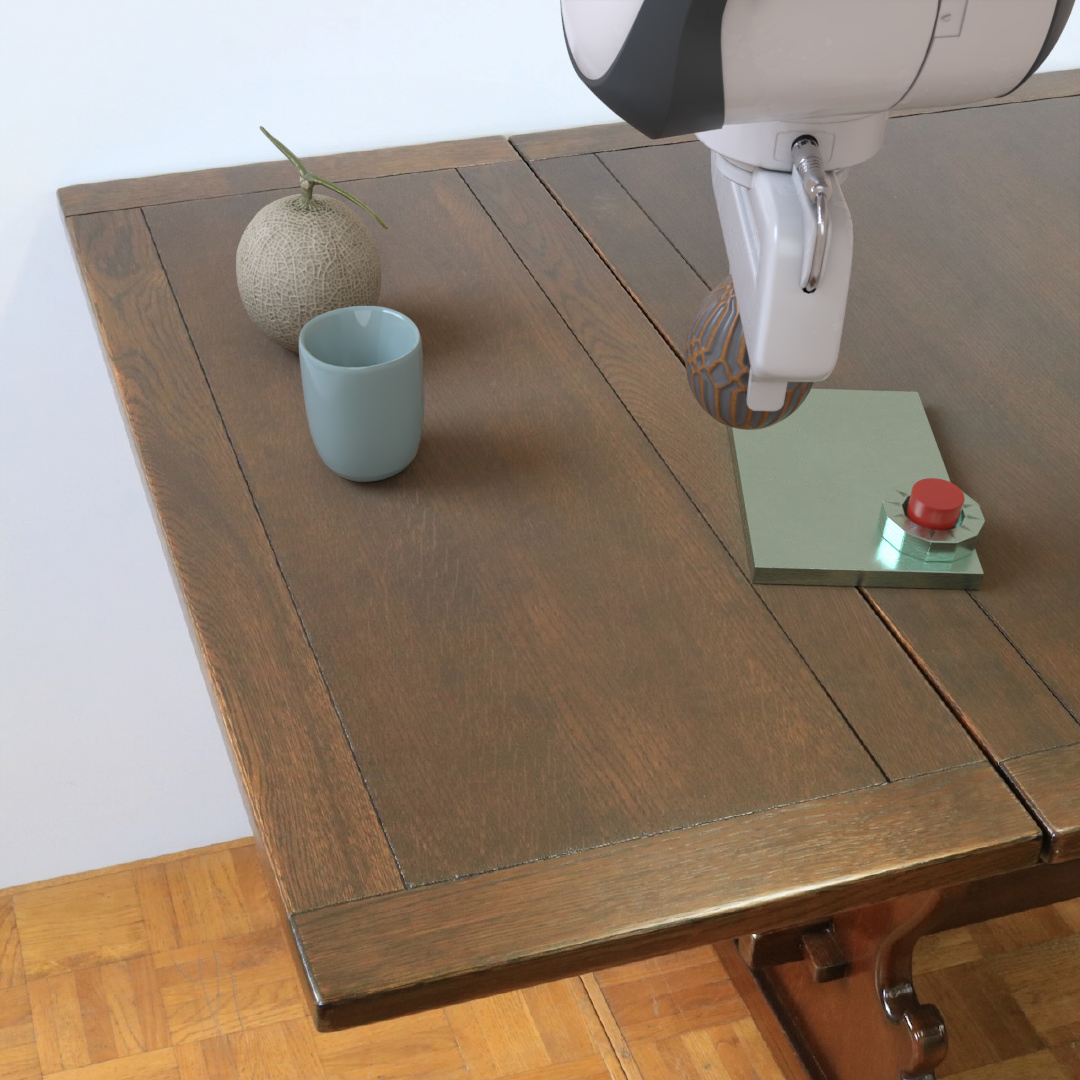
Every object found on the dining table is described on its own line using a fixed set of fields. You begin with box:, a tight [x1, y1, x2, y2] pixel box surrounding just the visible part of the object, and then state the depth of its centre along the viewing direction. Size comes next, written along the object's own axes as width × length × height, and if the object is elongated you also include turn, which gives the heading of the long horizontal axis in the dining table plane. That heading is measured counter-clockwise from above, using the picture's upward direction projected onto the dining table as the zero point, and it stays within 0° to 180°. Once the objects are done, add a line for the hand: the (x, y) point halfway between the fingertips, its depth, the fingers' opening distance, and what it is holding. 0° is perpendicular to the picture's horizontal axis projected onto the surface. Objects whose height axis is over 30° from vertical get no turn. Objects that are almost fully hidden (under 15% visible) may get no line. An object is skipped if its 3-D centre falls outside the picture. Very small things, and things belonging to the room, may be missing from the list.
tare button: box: [907, 478, 965, 530], centre depth 82 cm, size 3×3×2 cm
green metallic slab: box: [726, 388, 986, 591], centre depth 88 cm, size 20×14×3 cm
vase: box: [684, 273, 815, 430], centre depth 68 cm, size 7×7×9 cm
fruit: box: [235, 125, 389, 354], centre depth 97 cm, size 10×12×15 cm
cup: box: [298, 305, 425, 483], centre depth 87 cm, size 8×8×10 cm
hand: (752, 357), depth 69 cm, fingers closed on vase, 7 cm apart
